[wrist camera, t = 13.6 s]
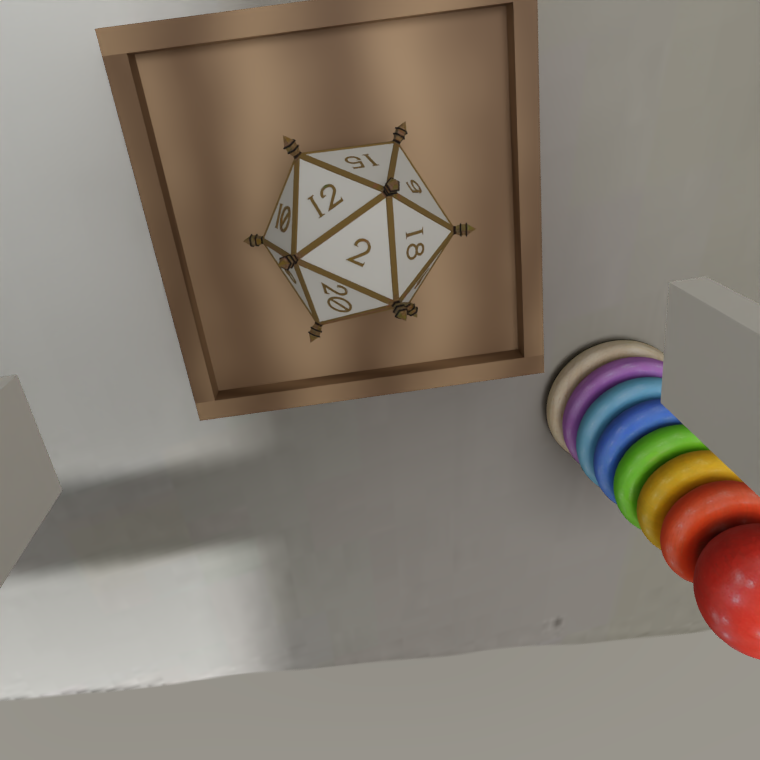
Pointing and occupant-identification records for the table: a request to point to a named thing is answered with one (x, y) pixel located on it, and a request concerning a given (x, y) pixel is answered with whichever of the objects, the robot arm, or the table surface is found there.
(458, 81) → the square tray
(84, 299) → the table surface
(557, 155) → the table surface
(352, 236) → the game die
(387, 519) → the table surface
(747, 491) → the stacking toy
